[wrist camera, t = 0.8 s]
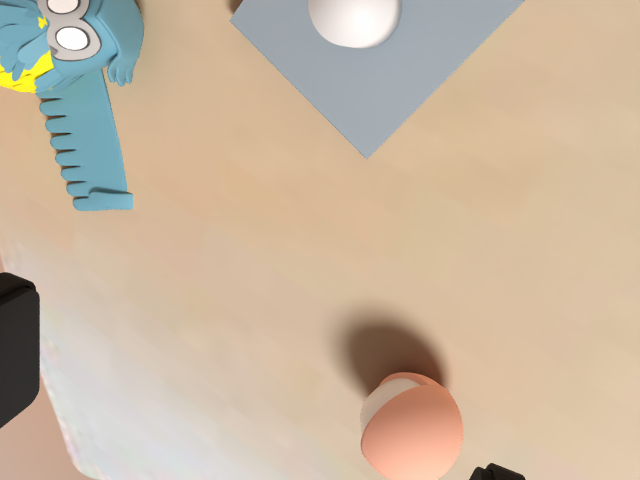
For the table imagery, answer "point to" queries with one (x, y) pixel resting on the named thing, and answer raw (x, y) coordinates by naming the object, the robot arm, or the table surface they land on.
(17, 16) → the toy parrot figure
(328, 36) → the block
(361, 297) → the table surface
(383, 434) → the toy ball
